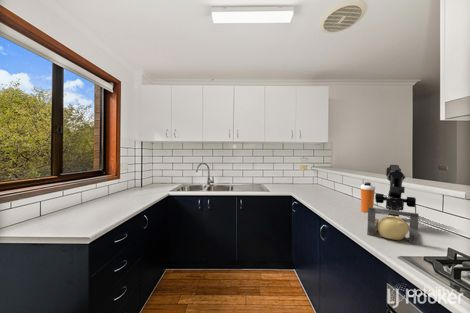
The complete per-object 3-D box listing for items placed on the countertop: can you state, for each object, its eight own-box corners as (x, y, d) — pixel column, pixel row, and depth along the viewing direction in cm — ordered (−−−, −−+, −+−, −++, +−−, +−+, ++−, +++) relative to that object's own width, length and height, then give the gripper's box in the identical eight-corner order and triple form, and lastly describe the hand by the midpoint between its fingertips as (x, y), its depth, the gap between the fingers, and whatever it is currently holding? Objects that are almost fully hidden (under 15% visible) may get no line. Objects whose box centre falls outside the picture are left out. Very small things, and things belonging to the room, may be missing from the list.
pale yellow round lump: (412, 243, 112) (413, 219, 112) (384, 241, 113) (385, 218, 113) (398, 234, 123) (399, 213, 123) (373, 233, 125) (374, 212, 124)
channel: (372, 225, 138) (373, 201, 138) (416, 232, 127) (417, 206, 127) (367, 234, 122) (368, 207, 122) (417, 244, 111) (418, 214, 110)
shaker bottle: (373, 210, 173) (374, 182, 173) (374, 213, 165) (375, 183, 165) (359, 209, 177) (360, 181, 176) (359, 212, 169) (360, 182, 168)
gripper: (376, 179, 142) (373, 201, 133) (416, 182, 131) (415, 207, 122) (377, 191, 148) (374, 213, 140) (415, 195, 138) (415, 219, 129)
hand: (393, 212), depth 133 cm, fingers closed
